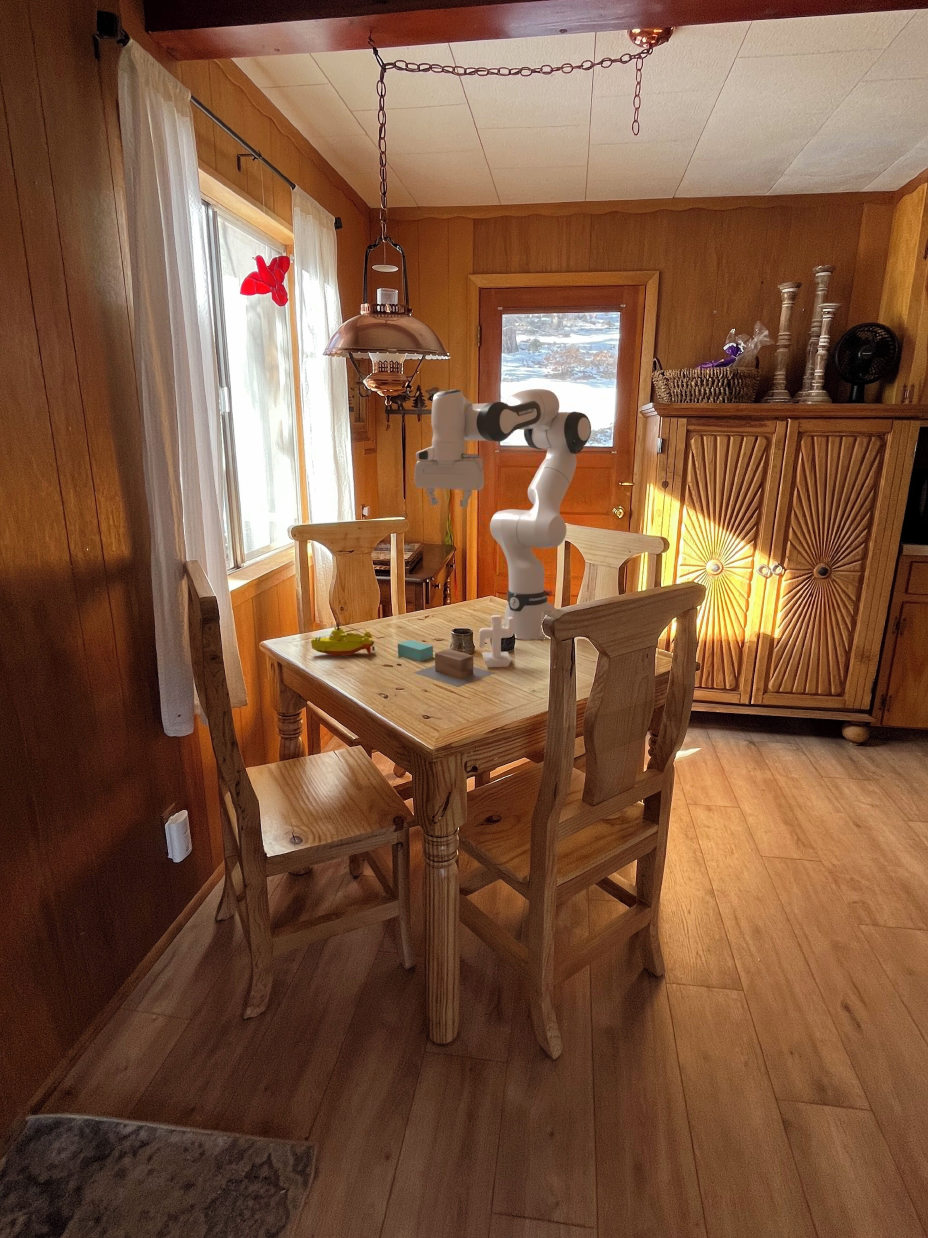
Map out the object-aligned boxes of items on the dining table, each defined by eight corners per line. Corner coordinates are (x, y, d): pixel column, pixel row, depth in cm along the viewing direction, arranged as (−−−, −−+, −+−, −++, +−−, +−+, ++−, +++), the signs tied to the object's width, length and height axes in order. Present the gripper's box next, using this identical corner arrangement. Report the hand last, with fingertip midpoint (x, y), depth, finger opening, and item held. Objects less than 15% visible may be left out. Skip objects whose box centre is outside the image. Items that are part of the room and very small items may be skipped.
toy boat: (374, 657, 201) (372, 623, 198) (310, 659, 199) (308, 625, 197) (375, 650, 207) (373, 617, 204) (313, 652, 206) (311, 619, 203)
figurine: (477, 665, 193) (477, 612, 189) (511, 664, 194) (511, 611, 190) (480, 674, 186) (480, 619, 182) (515, 672, 187) (516, 618, 183)
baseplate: (451, 665, 193) (451, 660, 193) (494, 678, 182) (495, 672, 182) (413, 678, 183) (413, 672, 183) (457, 692, 173) (457, 686, 172)
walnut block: (448, 666, 187) (448, 648, 186) (473, 674, 181) (473, 655, 180) (435, 671, 184) (434, 653, 182) (460, 679, 178) (459, 660, 176)
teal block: (411, 656, 202) (410, 639, 200) (433, 662, 196) (433, 645, 194) (398, 660, 198) (397, 643, 197) (420, 667, 192) (420, 650, 191)
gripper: (488, 453, 183) (488, 506, 187) (423, 452, 193) (424, 503, 197) (476, 454, 178) (476, 508, 181) (410, 453, 188) (411, 505, 192)
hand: (448, 506), depth 189 cm, fingers open, 8 cm apart
